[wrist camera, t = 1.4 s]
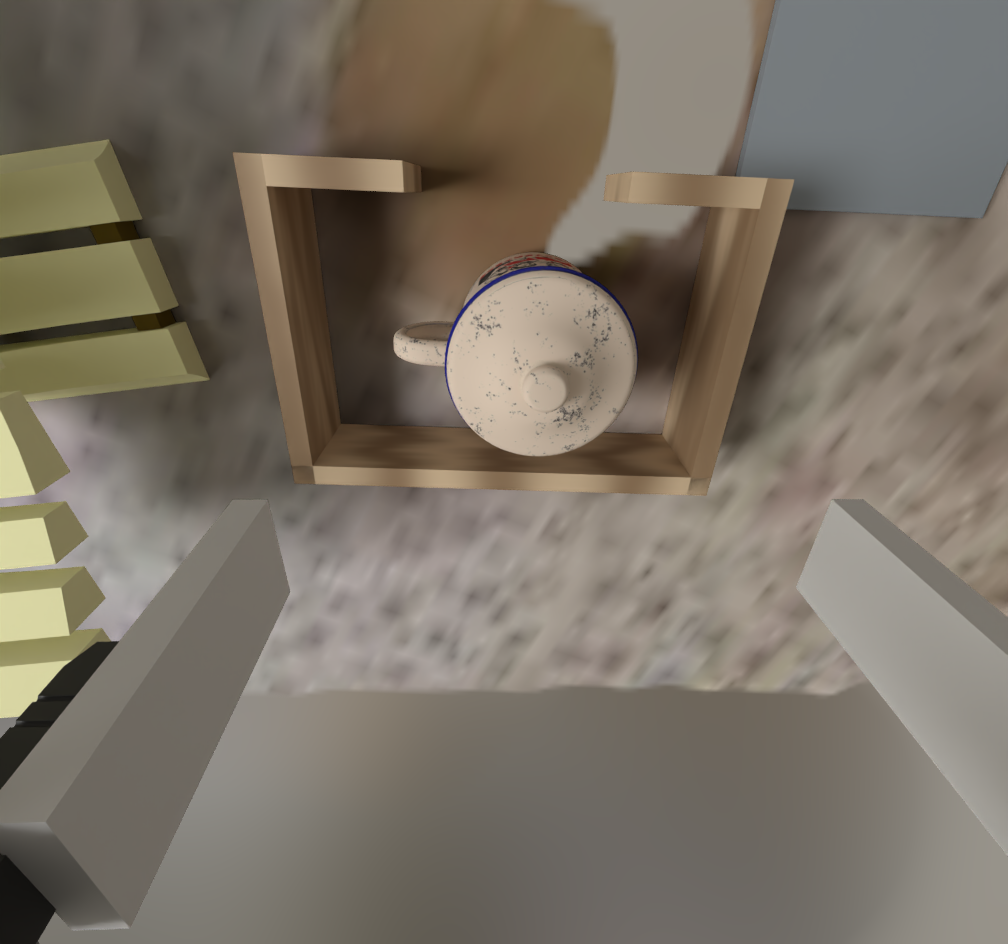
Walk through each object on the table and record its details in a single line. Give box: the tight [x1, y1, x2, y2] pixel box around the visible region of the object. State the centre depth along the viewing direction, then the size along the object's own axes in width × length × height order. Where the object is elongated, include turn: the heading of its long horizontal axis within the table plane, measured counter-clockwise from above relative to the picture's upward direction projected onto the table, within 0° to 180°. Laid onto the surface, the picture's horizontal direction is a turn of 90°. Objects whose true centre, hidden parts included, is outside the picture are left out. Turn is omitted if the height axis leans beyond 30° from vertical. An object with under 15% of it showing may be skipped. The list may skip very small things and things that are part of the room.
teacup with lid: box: [394, 252, 638, 456], centre depth 26 cm, size 12×9×12 cm
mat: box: [735, 0, 1008, 218], centre depth 25 cm, size 14×14×1 cm
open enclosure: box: [233, 152, 795, 496], centre depth 28 cm, size 24×16×6 cm
